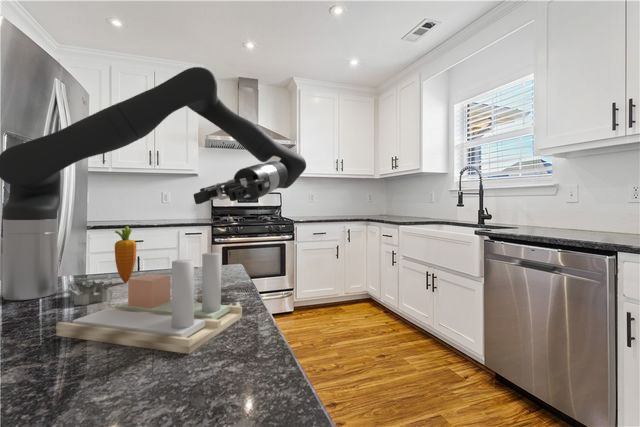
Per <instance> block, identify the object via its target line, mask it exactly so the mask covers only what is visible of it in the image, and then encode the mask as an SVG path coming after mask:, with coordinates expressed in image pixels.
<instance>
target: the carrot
mask: <svg viewBox="0 0 640 427" xmlns="http://www.w3.org/2000/svg"><path fill="white" fill-rule="evenodd" d="M114 233H116V234H117V235H119V236H120V238H121V240H118V241H116V242H115V243H114V256H115V257H114V259H115V260H114V261H115V265H116V269H117V272H118V275H119V278H120V279H121V280H122V282H123V283H125V284H126V283H127V282H128V279H130V278H132V274H133V272H134V268H135V264H136V260H137V242H136V241H135V240H133V239H130V235H131V234H132V228H130V227H129V226H128V225H127V226H126V225H125V226H124V228H122V229H121V231H119V230H118V229H117V230H114Z"/></svg>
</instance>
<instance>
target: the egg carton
mask: <svg viewBox="0 0 640 427" xmlns="http://www.w3.org/2000/svg"><path fill="white" fill-rule="evenodd" d="M112 286H113V282H112V281H110V282H109V283H106V282H105V281H103V280H100V281H99V282H96V281H95V280H94V279H93V280H91V281H88V280H84V281H82V280H80V281H68V288H69V292H68V293H69V299H71V302H73V303H74V305H75V306H77V305H78V306H80V305H81V306H86V305H90V304H92V303H97V302H98V303H100V302H101V303H104V302H108V301H109V300H113V292H114V291H113V289H112V288H111V287H112Z"/></svg>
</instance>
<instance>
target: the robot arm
mask: <svg viewBox="0 0 640 427" xmlns="http://www.w3.org/2000/svg"><path fill="white" fill-rule="evenodd" d="M217 81H218V80H217V78H216V76H215V74H214V73H213V72H212V71H211V70H210V69H208V68H206V67H201V66H194V67H189V68H187V69H185V70H182V71H181V72H179V73H177V74H176V75H174V76H172V77H171V78H169V79H167V80H166V81H163V82H162V83H160V84H158V85H156V86H154V87H152V88H150V89H147V90H145V91H142V92H140V93H138V94H136V95H134V96H131V97H129V98H128V99H125V100H123V101H120V102H117V103H115V104H112V105H110V106H108V107H106V108H103V109H101V110H99V111H97V112H94V113H93V114H90V115H88V116H86V117H84V118H82V119H80V120H78V121H75V122H74V123H72V124H69V125H68V126H66V127H63V128H62V129H60V130H57V131H55V132H52V133H49V134H47V135H44V136H40V137H37V138H35V139H31V140H28V141H25V142H22V143H19V144H15V145H12V146H10V147H7V148H6V149H5V150H3V151H2V152H1V153H0V179H1V180H2V181H3V182H5V183H7V184H8V185H9V196H8V199H7V201H6V204H4V206H3V207H2V253H1V254H0V297H1V298H2V297H3V298H2V299H3V300H6V301H25V300H35V299H40V298H45V297H49V296H53V295H55V294H57V293H58V270H59V269H58V267H59V266H58V263H59V260H58V210H59V207H60V204H61V184H62V182H61V179H62V178H61V174H62V173H61V171H62V170H64V169H65V168H67V167H69V166H71V165H73V164H76V163H78V162H80V161H82V160H85V159H87V158H91V157H95V156H98V155H103V154H106V153H110V152H114V151H116V150H118V149H121V148H122V149H123V148H124V147H127V146H129V145H130V144H133V143H134V142H137V141H139V140H142V139H143V138H144V137H147V136H148V135H149V134H151V132H153V131H154V130H155V129H156V128H157V127H158V126H159V125H160V124H161V123H162V122H163V121H164V120H165V119H167V118H168V117H169V116H170V115H171V114H173V113H175V112H176V111H178V110H180V109H182V108H185V107H187V108H188V109H190V110H191V111H193V112H194V113H196V114H197V115H199V116H201V117H202V118H204V119H206V120H207V121H209V122H210V123H212V124H214V126H216V127H217V128H219V129H220V130H222V131H223V132H224V133H226V134H227V135H228V136H230V137H231V138H232V139H234V140H235V141H236V142H237V143H238V144H239V145H240V146H242V148H244V149H245V150H246V151H247V152H249V153H250V154H251V155H252V156H253V157H254V158H255V159H257V160H258V161H260V162H261V163H258V164H254V165H250V166H246V167H244V168H240V169H239V170H238V171H236V173H235V174H234V176H233V178H232V179H228V180H226V181H224V182H220V183H216V184H213V185H209V186H206V187H202V188H200V189H199V191H198V192H196V193H194V194H193V198H194V202H195V205H201V204H204V203H206V202H210V201H213V200H217V199H218V200H219V201H223V200H226V199H229V201H230V202H236V201H238V200H240V199H242V200H243V201H247V202H251V201H255V200H257V199H260V198H262V197H265V196H266V195H268V194H270V193H272V192H273V191H275V190H277V189H288V188H289V187H291V186H292V185H294V183H295V182H296V181H297V179H298V178H299V177H301V175H302V174H303V173H304V172H305V170H306V168H307V162H306V159H305V158H304V157H303V156H302V154H300V153H298V152H297V151H295V150H292V149H290V148H289V147H286V146H284V145H283V144H281V143H279V142H278V141H276V140H274V139H273V138H272V136H270V135H269V134H268V133H266V131H265V130H263V129H262V128H261V127H260V126H259V125H257V124H255V123H254V122H252V121H250V120H249V119H246V118H244V117H242V116H240V115H238V114H237V113H235V112H234V111H233V110H231V109H230V108H229V107H227V105H226V104H224V102H223V101H222V100H221V99H220V98H219V96H218V82H217ZM273 157H277V158H279V160H278V161H276V160H274V161H269V160H271V158H273ZM267 161H268V162H267Z"/></svg>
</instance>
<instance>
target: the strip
mask: <svg viewBox="0 0 640 427" xmlns="http://www.w3.org/2000/svg"><path fill="white" fill-rule="evenodd" d="M171 300H172V316H164V315H155V314H146V313H137V312H128V311H119V310H109V309H104V310H101V311H99V310H98V311H96V312H93V313H90V314H87V315H84V316H82V317H78V318H76V319H73V320H72V323H74V324H82V325H90V326H98V327H106V328H114V329H122V330H130V331H138V332H146V333H154V334H162V335H170V336H178V337H188V336H190V335H191V334H193V333H195V332H196V331H198V330H199V329H201V328H203V327H204V326H205V320H201V319H194V302H195V260H193V259H177V260H172V261H171Z"/></svg>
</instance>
